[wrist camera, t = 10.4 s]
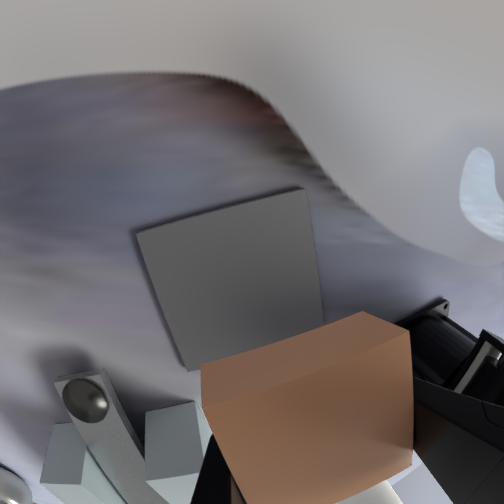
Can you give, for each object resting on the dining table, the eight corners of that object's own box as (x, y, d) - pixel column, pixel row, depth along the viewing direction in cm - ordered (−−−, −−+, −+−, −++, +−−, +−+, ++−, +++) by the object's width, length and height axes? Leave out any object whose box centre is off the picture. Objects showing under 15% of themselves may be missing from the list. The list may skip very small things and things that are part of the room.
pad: (302, 188, 16) (305, 188, 16) (322, 326, 19) (324, 329, 19) (136, 231, 15) (135, 233, 15) (187, 368, 18) (188, 372, 18)
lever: (59, 376, 15) (51, 384, 14) (104, 367, 16) (98, 376, 15) (180, 552, 17) (181, 562, 16) (215, 548, 18) (217, 558, 16)
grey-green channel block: (54, 424, 17) (39, 483, 12) (194, 401, 19) (206, 471, 13) (149, 514, 23) (153, 556, 18) (250, 498, 25) (264, 541, 20)
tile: (362, 311, 9) (409, 330, 6) (377, 431, 9) (411, 465, 7) (200, 364, 8) (201, 407, 6) (247, 480, 8) (260, 528, 6)
